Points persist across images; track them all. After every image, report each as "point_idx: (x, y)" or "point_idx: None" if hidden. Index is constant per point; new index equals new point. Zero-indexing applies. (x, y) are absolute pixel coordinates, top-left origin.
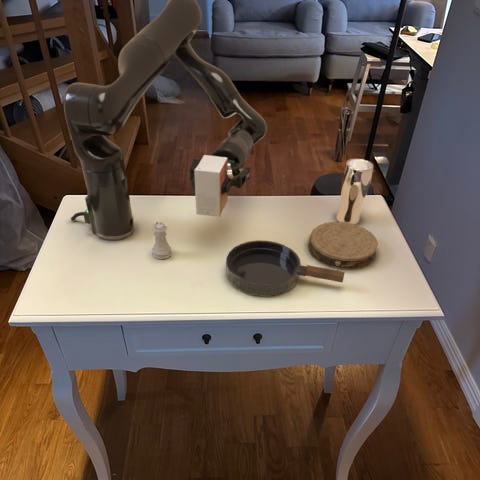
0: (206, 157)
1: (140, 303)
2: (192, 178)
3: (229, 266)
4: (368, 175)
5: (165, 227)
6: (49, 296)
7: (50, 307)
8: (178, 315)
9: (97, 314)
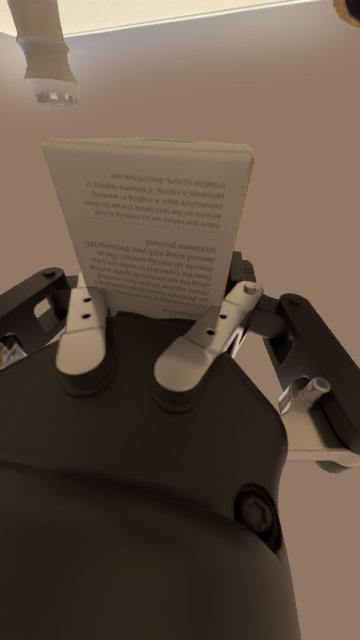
0: None
1: (150, 7)
2: (68, 278)
3: (344, 12)
4: None
5: (72, 91)
6: (8, 22)
7: None
8: (236, 11)
9: (109, 27)
